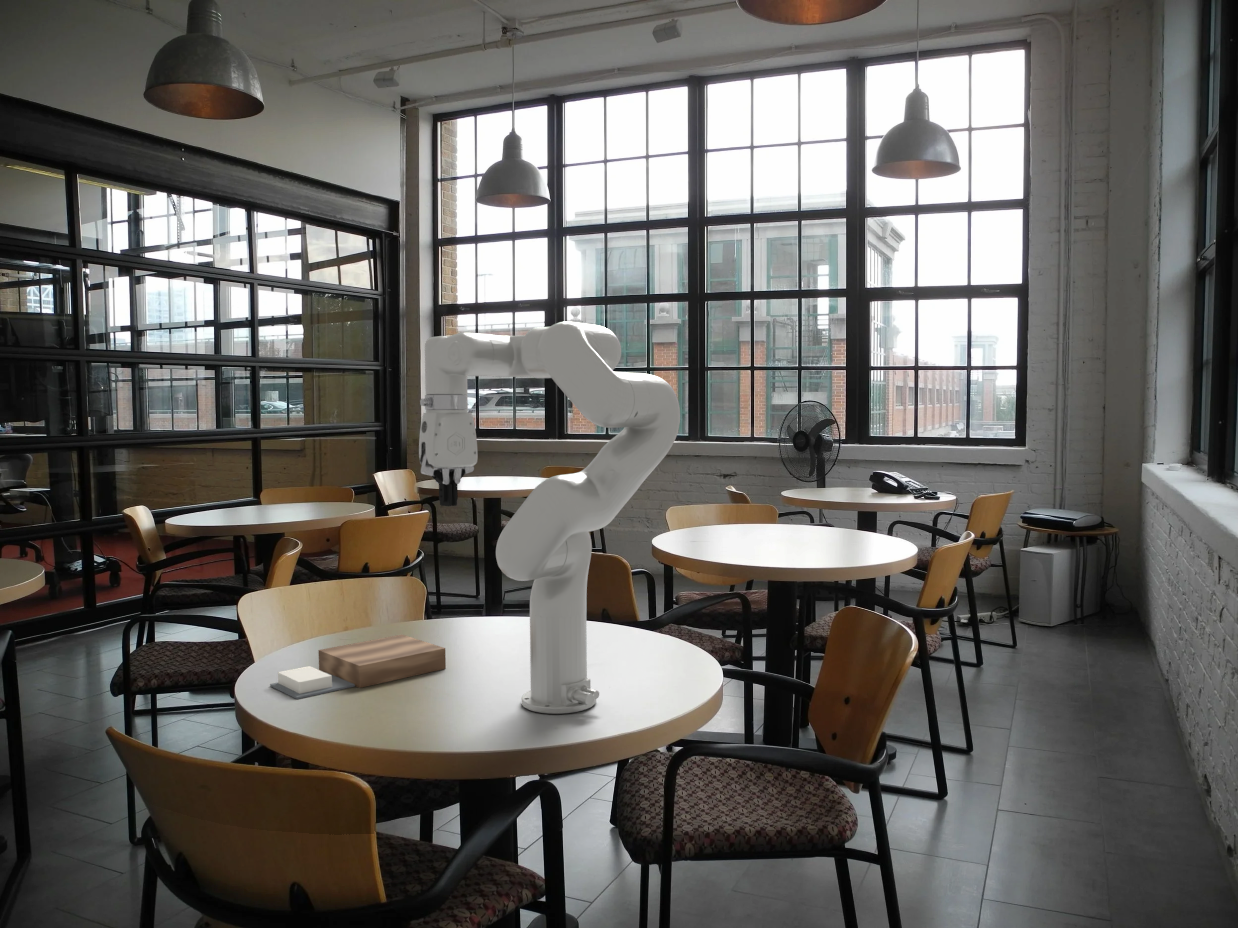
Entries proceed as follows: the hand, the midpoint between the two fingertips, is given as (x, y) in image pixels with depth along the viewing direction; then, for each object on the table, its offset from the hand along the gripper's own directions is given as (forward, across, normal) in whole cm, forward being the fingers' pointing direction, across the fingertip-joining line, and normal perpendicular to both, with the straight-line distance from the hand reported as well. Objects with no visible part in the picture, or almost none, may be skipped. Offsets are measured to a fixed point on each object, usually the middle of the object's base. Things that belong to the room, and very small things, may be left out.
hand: (448, 505), depth 172 cm
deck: (+32, -6, +14) cm, 36 cm away
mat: (+32, -21, +14) cm, 40 cm away
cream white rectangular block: (+30, -22, +14) cm, 39 cm away
